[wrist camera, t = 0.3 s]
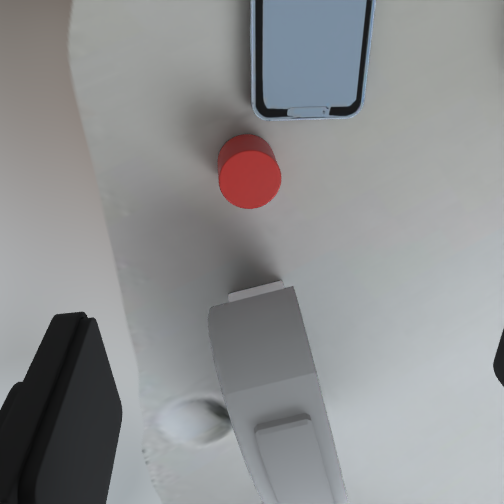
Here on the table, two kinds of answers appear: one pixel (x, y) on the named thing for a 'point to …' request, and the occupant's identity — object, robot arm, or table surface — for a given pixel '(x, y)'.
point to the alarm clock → (275, 396)
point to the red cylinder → (248, 172)
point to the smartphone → (309, 58)
